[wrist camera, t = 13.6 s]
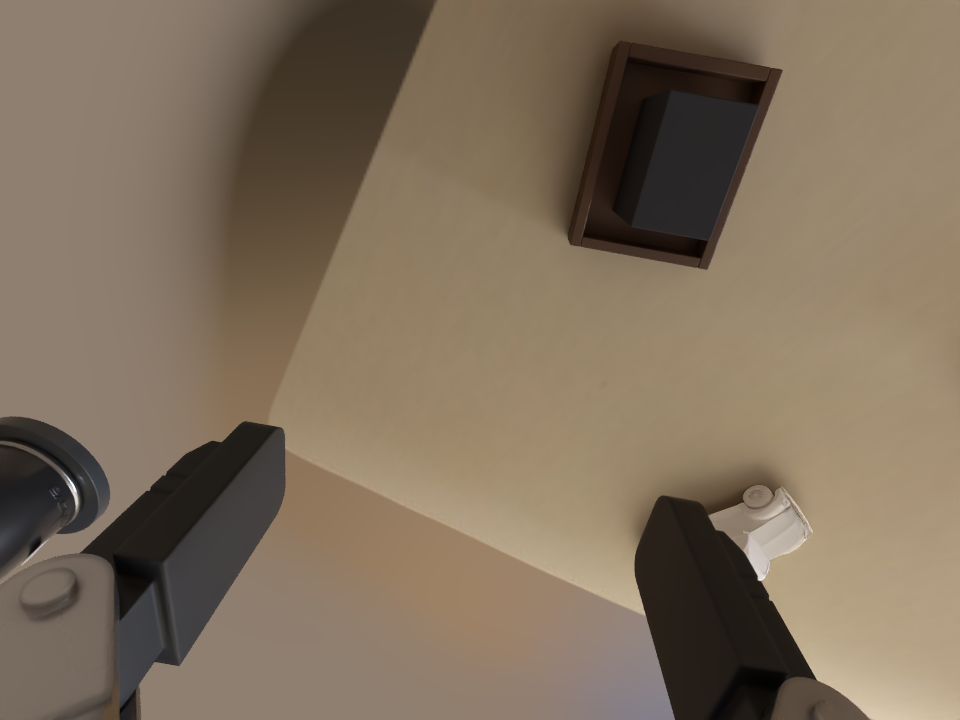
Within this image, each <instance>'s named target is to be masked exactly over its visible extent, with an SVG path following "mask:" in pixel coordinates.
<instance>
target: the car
mask: <svg viewBox="0 0 960 720" xmlns="http://www.w3.org/2000/svg"><path fill="white" fill-rule="evenodd" d="M781 489H782V490H783V491H784V493H785V494H786V495H785V494H784V493H783V491H782V490H781ZM786 496H788V497H789V498H790V500H791V501H792V502H793V504H794V505H795V507H796V508H797V510H798V511H799V513H800V514H801V516H802V518H803V519H804V521H805V523H803V521H802V520H801V518H800V517H799V515H798V514H797V513H796V512H795V510H794V509H793V507H792V506H791V503H790V502H789V500H788V499H787V497H786ZM743 500H744V502H745V503H740V504H738V505H736V506H733V507H730V508H727V509H724V510H721V511H719V512H716V513H713V514H710V515H708V516H709V518H710V520H711V522H712V524H713V526H714V528H715V530H719V531H724V532H725V533H726V534H727V535H728V536H729V537H730V538H731V539H732V540H733V541H734V542H735V543H736V544H737V545H738V546H739V547H740V548H741V549H742V550H743V552H744V553H745V554H746V556H747V558H748V559H749V561H750V563H751V565H752V566H753V568H754V570H755V572H756V573H757V575H758V581H762V580H763V579H764V578H765V577H766V575H767V573H768V571H769V569H771V567H770V561H771V560H773V559H775V558H777V557H779V556H780V555H785V554H788V553H791V552H792V551H794V550H796V549H797V548H798V547H800V546H801V545H802V544H803V543H804V541H805V540H809V537H810V534H809V532H808V529H809V530H810V532H811V533H813V531H812V529H811V527H810V525H809V523H808V521H807V519H806V517H805V516H804V514H803V513H802V511H801V510H800V508H799V507H798V505H797V504H796V503H795V501H794V500H793V499H792V497H791V496H790V495H789V494H788V492H787V491H786V490H785V489H784V488H783V487H782V486H781V488H780V487H779V489H777V490H776V491H775V496H774V495H773V494H772V492H771V491H770V490H769V489H768V488H767V487H765V486H762V485H755V486H752V487H750V488H748V489H747V490H746V491H745V492H744V494H743ZM747 506H748V507H747ZM805 524H806V525H807V527H808V529H807V527H806V526H805ZM771 570H772V569H771Z"/></svg>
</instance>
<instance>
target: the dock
mask: <svg viewBox="0 0 960 720" xmlns="http://www.w3.org/2000/svg"><path fill="white" fill-rule="evenodd" d="M782 71H783V70H781V69H775V68H770V67H764V66H759V65H753V64H748V63H742V62H736V61H731V60H725V59H719V58H714V57H708V56H702V55H697V54H691V53H686V52H680V51H674V50H669V49H663V48H657V47H652V46H646V45H640V44H635V43H629V42H623V41H620V42H619V43H618V44H617V45H616V46H615V47H614V48H613V50H612V54H611V58H610V62H609V67H608V71H607V75H606V79H605V83H604V87H603V92H602V96H601V100H600V104H599V108H598V113H597V117H596V121H595V125H594V129H593V133H592V138H591V142H590V146H589V150H588V154H587V158H586V163H585V167H584V171H583V175H582V179H581V183H580V188H579V192H578V196H577V200H576V204H575V208H574V213H573V217H572V221H571V225H570V229H569V233H568V240H569V243H570V245H574V246H581V247H586V248H591V249H597V250H602V251H608V252H613V253H618V254H624V255H629V256H635V257H640V258H646V259H651V260H657V261H662V262H668V263H673V264H679V265H684V266H690V267H695V268H697V267H698V268H700V269H706V270H707V269H708V267H709V265H710V262H711V259H712V257H713V254H714V251H715V249H716V246H717V243H718V241H719V238H720V235H721V233H722V230H723V227H724V225H725V222H726V220H727V217H728V214H729V212H730V209H731V206H732V204H733V201H734V198H735V196H736V193H737V190H738V188H739V185H740V182H741V180H742V177H743V175H744V172H745V169H746V167H747V164H748V161H749V159H750V156H751V153H752V151H753V148H754V145H755V143H756V140H757V137H758V135H759V132H760V129H761V127H762V124H763V122H764V119H765V116H766V114H767V111H768V108H769V106H770V103H771V100H772V98H773V95H774V92H775V90H776V87H777V84H778V82H779V79H780V77H781V74H782ZM671 89H673V90H679V91H684V92H690V93H696V94H701V95H707V96H713V97H718V98H724V99H729V100H735V101H741V102H746V103H752V104H757V105H759V109H758V112H757V115H756V117H755V120H754V123H753V126H752V128H751V131H750V134H749V136H748V139H747V142H746V145H745V147H744V150H743V153H742V155H741V158H740V161H739V163H738V166H737V169H736V172H735V174H734V177H733V180H732V182H731V185H730V188H729V191H728V193H727V196H726V199H725V201H724V204H723V207H722V209H721V212H720V215H719V218H718V220H717V223H716V226H715V228H714V231H713V234H712V237H711V239H710V241H706V240H701V239H695V238H690V237H684V236H679V235H673V234H668V233H662V232H657V231H651V230H646V229H640V228H635V227H631V226H630V225H628V224H627V223H626V222H625V221H624V220H623V219H621V218H620V217H619V216H618V215H617V214H616V213H614V212H613V207H614V203H615V200H616V196H617V193H618V189H619V185H620V182H621V178H622V174H623V171H624V167H625V163H626V160H627V156H628V152H629V149H630V145H631V141H632V138H633V134H634V130H635V127H636V123H637V119H638V116H639V112H640V108H641V105H642V101H643V99H644V98H647V97H650V96H653V95H656V94H659V93H662V92H665V91H668V90H671Z"/></svg>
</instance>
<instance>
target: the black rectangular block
mask: <svg viewBox="0 0 960 720" xmlns="http://www.w3.org/2000/svg"><path fill="white" fill-rule="evenodd" d="M758 109H759V105H757V104H752V103H746V102H741V101H735V100H729V99H724V98H718V97H713V96H707V95H701V94H696V93H690V92H684V91H679V90H673V89H671V90H668V91H665V92H662V93H659V94H656V95H653V96H650V97H647V98H644V99H643V101H642V105H641V108H640V112H639V116H638V119H637V123H636V127H635V130H634V134H633V138H632V141H631V145H630V149H629V152H628V156H627V160H626V163H625V167H624V171H623V174H622V178H621V182H620V185H619V189H618V193H617V196H616V200H615V203H614V207H613V212H614V213H616V214H617V215H618V216H619V217H620V218H621V219H623V220H624V221H625V222H626V223H627V224H628V225H630V226H631V227H635V228H640V229H646V230H651V231H657V232H662V233H668V234H673V235H679V236H684V237H690V238H695V239H701V240H706V241H710V239H711V237H712V234H713V231H714V228H715V226H716V223H717V220H718V218H719V215H720V212H721V209H722V207H723V204H724V201H725V199H726V196H727V193H728V191H729V188H730V185H731V182H732V180H733V177H734V174H735V172H736V169H737V166H738V163H739V161H740V158H741V155H742V153H743V150H744V147H745V145H746V142H747V139H748V136H749V134H750V131H751V128H752V126H753V123H754V120H755V117H756V115H757V112H758Z"/></svg>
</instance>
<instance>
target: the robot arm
mask: <svg viewBox="0 0 960 720" xmlns="http://www.w3.org/2000/svg"><path fill="white" fill-rule="evenodd" d="M284 492H285V434H284V430H283V429H282V428H281V427H275V426H270V425H264V424H258V423H252V422H246V421H245V422H243V423H241V424H240V425H239V426H238V427H237V428H236V429H235V430H234V431H233V432H232V433H231V434H230V435H229V436H228V437H227V438H226V439H225V440H224V441H223V442H216V441H211V442H208V443H206V444H204V445H203V446H201V447H199V448H197V449H195V450H193V451H191V452H189V453H187V454H185V455H184V456H183V457H182V458H181V459H180V460H179V461H178V462H177V463H176V464H175V465H174V466H173V467H172V468H170V469H169V470H168V471H167V474H166V476H164V475H163V476H162V477H161V478H160V479H159V480H158V481H156V482H155V483H154V484H153V485H152V486H151V489H150V491H146V492H145V493H144V494H143V495H142V496H140V497H139V498H138V499H137V500H136V501H135V502H134V503H133V504H132V505H131V506H130V507H129V508H128V509H127V510H126V511H124V512H123V513H122V514H121V515H120V516H119V517H118V518H117V519H116V520H115V521H114V522H113V523H112V524H111V525H110V526H109V527H107V528H106V529H105V530H104V531H103V532H102V533H101V534H100V535H99V536H98V537H97V538H96V539H95V540H94V541H92V542H91V543H90V545H88V546H87V547H86V548H85V549H84V550H83V551H82V552H81V553H79V554H69V555H62V556H58V557H54V558H51V559H47V560H44V561H42V562H39V563H37V564H34V565H32V566H30V567H28V568H26V569H24V570H22V571H20V572H19V573H17V574H15V575H14V576H12V577H11V578H9V579H8V580H7V581H5V582H4V583H2V584H1V585H0V720H141V706H140V688H139V683H140V682H141V680H142V679H143V677H144V676H145V674H146V673H147V672H148V670H149V669H150V668H151V666H152V665H153V663H154V662H159V663H165V664H170V665H177V666H179V665H180V664H181V663H182V661H183V660H184V658H185V657H186V655H187V653H188V652H189V650H190V649H191V647H192V645H193V644H194V643H195V641H196V640H197V638H198V636H199V635H200V633H201V632H202V630H203V629H204V627H205V625H206V624H207V622H208V621H209V619H210V618H211V616H212V615H213V613H214V611H215V610H216V608H217V607H218V605H219V603H220V602H221V601H222V599H223V598H224V596H225V594H226V593H227V591H228V590H229V588H230V587H231V585H232V584H233V582H234V580H235V579H236V577H237V576H238V574H239V573H240V571H241V570H242V568H243V566H244V565H245V563H246V562H247V560H248V559H249V557H250V556H251V554H252V552H253V551H254V549H255V548H256V546H257V545H258V543H259V542H260V540H261V539H262V537H263V535H264V534H265V532H266V531H267V529H268V528H269V526H270V525H271V523H272V521H273V520H274V518H275V517H276V515H277V513H278V511H279V509H280V507H281V504H282V501H283V497H284ZM83 506H84V496H83V492H82V489H81V486H80V484H79V482H78V481H77V479H76V478H75V476H74V475H73V473H72V472H71V471H70V470H69V469H68V468H67V467H66V466H65V465H64V464H63V463H62V462H61V461H60V460H59V459H57V458H56V457H55V456H54V455H52V454H51V453H49V452H47V451H46V450H44V449H42V448H40V447H38V446H36V445H34V444H31V443H29V442H26V441H22V440H18V439H12V438H0V580H1V579H2V578H3V577H5V576H6V575H7V574H8V573H9V572H10V571H12V570H13V569H14V568H15V567H17V566H18V565H19V564H20V563H21V562H22V561H24V560H25V559H26V558H27V557H28V556H30V555H31V554H32V553H33V552H34V553H33V554H32V555H31V556H30V557H29V558H31V557H32V556H33V555H34V554H35V553H36V552H37V551H38V550H39V549H40V547H42V546H43V545H44V543H45V542H46V541H47V540H48V539H50V538H51V537H52V536H53V535H54V534H56V533H57V532H58V531H59V530H60V529H62V528H63V527H65V526H67V525H68V524H70V523H71V522H72V521H73V520H74V519H76V518H77V517H78V516H79V515H80V513H81V512H82V509H83ZM29 558H28V559H29ZM28 559H27V560H28ZM27 560H26V561H27ZM26 561H25V562H26ZM25 562H24V563H25ZM635 577H636V582H637V585H638V589H639V592H640V596H641V599H642V603H643V607H644V610H645V614H646V617H647V621H648V624H649V628H650V631H651V635H652V639H653V642H654V646H655V649H656V653H657V656H658V660H659V664H660V667H661V671H662V674H663V678H664V681H665V685H666V688H667V692H668V696H669V699H670V703H671V706H672V710H673V714H674V717H675V720H870V719H869V718H868V717H867V716H866V715H865V714H864V713H863V712H862V711H861V710H860V709H859V708H858V707H857V706H856V705H855V704H854V703H852V702H851V701H850V700H849V699H848V698H846V697H845V696H843V695H842V694H841V693H839V692H838V691H836V690H835V689H833V688H831V687H830V686H828V685H825V684H823V683H821V682H819V681H817V679H816V678H815V676H814V674H813V672H812V671H811V669H810V667H809V665H808V663H807V662H806V660H805V658H804V656H803V655H802V653H801V651H800V649H799V648H798V646H797V644H796V642H795V641H794V639H793V637H792V635H791V633H790V632H789V630H788V628H787V626H786V625H785V623H784V621H783V619H782V618H781V616H780V614H779V612H778V611H777V609H776V607H775V605H774V603H773V602H772V601H769V595H768V593H767V591H766V589H765V588H764V586H763V584H762V582H761V581H758V575H757V573H756V572H755V570H754V568H753V566H752V565H751V563H750V561H749V559H748V558H747V556H746V554H745V553H744V552H743V550H742V549H741V548H740V547H739V546H738V545H737V544H736V543H735V542H734V541H733V540H732V539H731V538H730V537H729V536H728V535H727V534H726V533H725V532H724V531H719V530H715V528H714V526H713V524H712V522H711V520H710V518H709V516H708V514H707V512H706V510H705V509H704V507H703V505H702V504H701V503H700V502H697V501H692V500H686V499H680V498H675V497H669V496H660V497H659V498H658V499H657V501H656V503H655V505H654V508H653V510H652V513H651V515H650V517H649V520H648V522H647V525H646V527H645V530H644V532H643V535H642V537H641V540H640V542H639V544H638V547H637V550H636V555H635Z"/></svg>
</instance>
